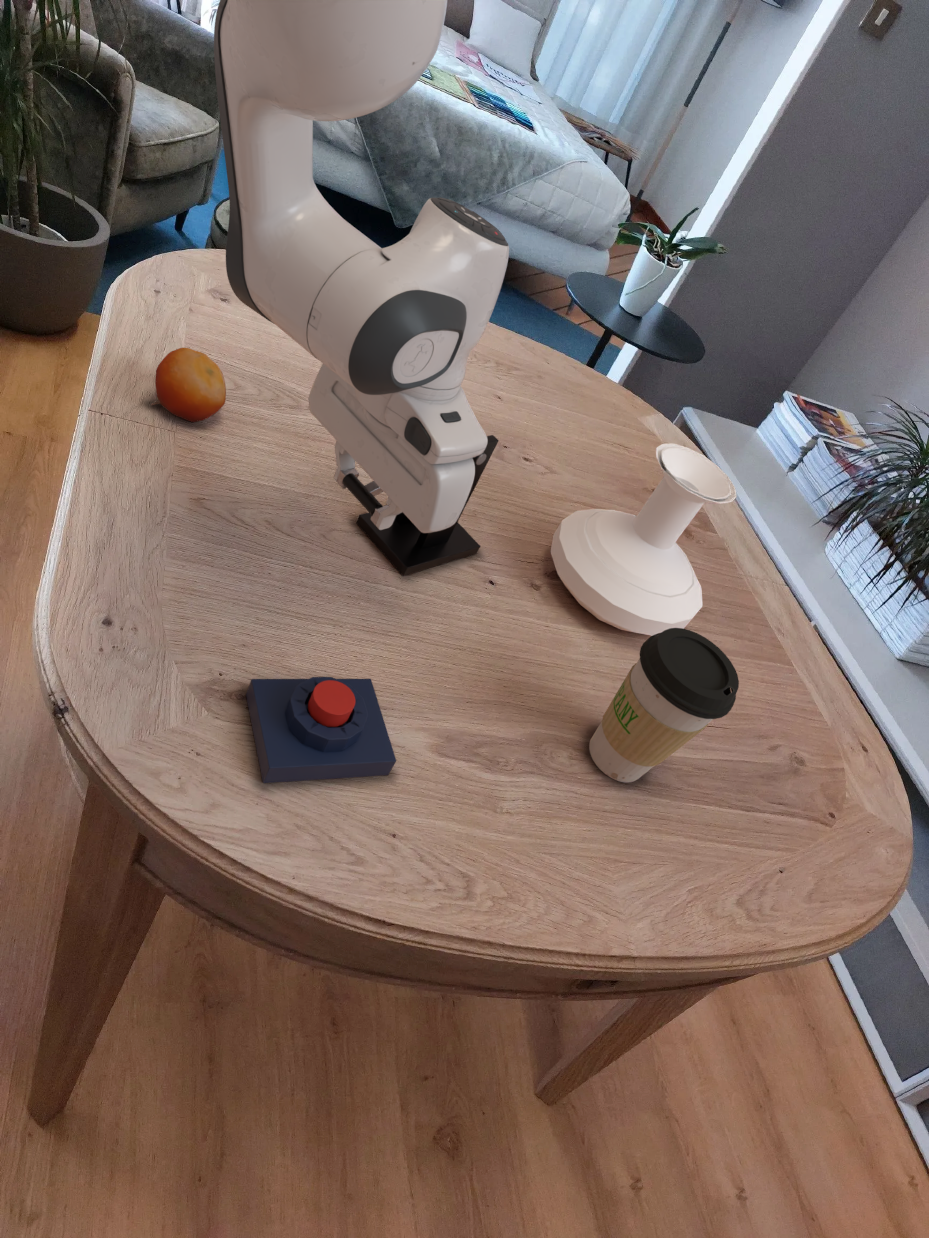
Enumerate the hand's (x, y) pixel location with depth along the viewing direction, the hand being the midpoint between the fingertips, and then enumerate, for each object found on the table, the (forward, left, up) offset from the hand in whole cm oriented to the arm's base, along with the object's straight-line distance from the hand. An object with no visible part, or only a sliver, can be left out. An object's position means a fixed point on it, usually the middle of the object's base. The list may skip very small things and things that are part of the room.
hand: (361, 504), depth 85 cm
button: (-7, -22, -4) cm, 24 cm away
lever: (+6, +3, +3) cm, 7 cm away
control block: (-7, -22, -8) cm, 25 cm away
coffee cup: (+24, -26, -8) cm, 36 cm away
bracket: (+11, +5, -8) cm, 14 cm away
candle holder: (+36, -2, -8) cm, 37 cm away
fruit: (-13, +24, -8) cm, 28 cm away
